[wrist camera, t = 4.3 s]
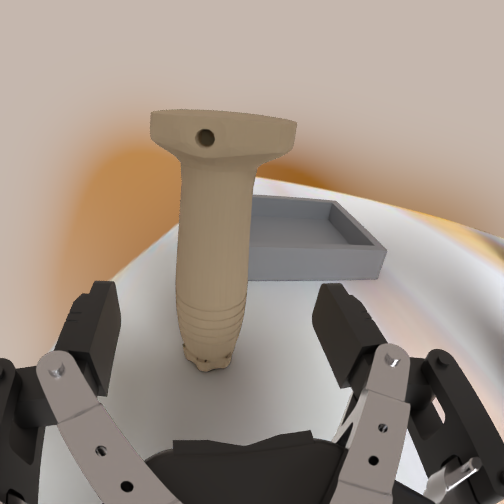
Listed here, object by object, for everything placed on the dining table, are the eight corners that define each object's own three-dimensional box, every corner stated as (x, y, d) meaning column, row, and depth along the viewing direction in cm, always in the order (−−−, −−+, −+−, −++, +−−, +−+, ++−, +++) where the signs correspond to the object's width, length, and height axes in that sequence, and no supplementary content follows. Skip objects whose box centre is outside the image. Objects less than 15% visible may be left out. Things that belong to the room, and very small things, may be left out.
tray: (330, 223, 43) (335, 200, 41) (377, 279, 31) (387, 250, 29) (217, 218, 40) (219, 193, 38) (226, 280, 28) (229, 246, 26)
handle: (176, 323, 22) (177, 108, 15) (261, 341, 21) (298, 120, 14) (151, 369, 18) (131, 114, 11) (249, 394, 17) (295, 127, 10)
